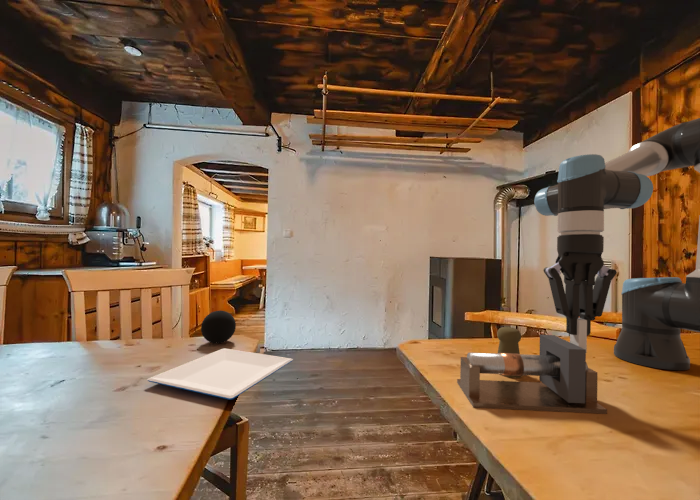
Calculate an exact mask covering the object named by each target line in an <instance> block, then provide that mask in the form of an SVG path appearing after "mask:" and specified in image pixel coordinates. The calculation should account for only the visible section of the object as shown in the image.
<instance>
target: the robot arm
mask: <svg viewBox="0 0 700 500" xmlns="http://www.w3.org/2000/svg"><path fill="white" fill-rule="evenodd" d="M688 167H693V169H694V170H695V171H696V172H697V173H699V174H700V117H698V118H696V119H691V120H688V121H685V122H681V123H679V124H676V125H673V126H671V127H669V128H666V129H664V130H662V131H660V132H659V133H657V134H654V135H652V136H650V137H649V138H646V139H644V140H643V141H640V142H639V143H637V144H634V145H632V147H630V148H629V149H628V151H627V152H625V153H624V154H621V155H619V156H616V157H615V158H613V159H610V160H608V161H607V162H605V158H604V157H603V156H602V155H600V154H596V153H595V154H593V153H592V154H591V153H590V154H579V155H575V156H572V157H568V158H565V159H564V160H562V161H561V162H560V164H559V165H558V175H557V179H556V182H557V184H555V185H548V186H547V187H543V188H541V189H540V190H538V191H537V192H536V194H535V196H534V200H533V201H534V206H535V210H536V211H537V212H538V213H539V214H540V215H542V216H545V217H549V216H550V217H551V216H554V217H556V216H557V232H558V233H559V234H560V235H558V236H557V238H556V242H557V244H556V247H557V248H556V251H557V258H556V259H555V263H554V264H552V265H551V266H549V267H548V266H547V267H544V268H543V273H544V274H545V276H546V277H547V279H548V284H549V287H550V291H551V295H552V299H553V303H554V307H555V312H556V313H557V314H559V315H562V316H564V317H565V318H566V325H565V327H566V332H567V333H566V334H568V335H569V342H570V343H572V344H575V345H577V346H579V347H581V348H583V349H586V354H587V353H588V352H587V349H588V347H587V346H588V345H587V344H588V343H587V342H588V340H587V339H588V338H587V337H588V336H590V335H591V328H592V327H591V325H592V324H591V322H592V321H595V320H596V318H597V317H602V316H603V312H604V309H605V306H606V303H607V298H608V294H609V289H610V286H611V283H612V281H613V279H614V278H615V277H616V275H617V274H618V273H617V270H616V269H614V268H609V267H607V266H606V265H605V261H604V260H603V258H602V254H603V253H604V244H605V243H604V242H605V241H604V239H605V238H604V237H605V236H603V234H601V233H604V231H605V210H608V209H620V210H625V209H636V208H638V207H639V208H640V207H641V206H644V204H646V203H647V202H648V201H649V200H650V198H651V197H652V195H653V191H654V184H653V181H652V180H651V178H650V177H651V176H655V175H656V174H659V173H662V172H665V171H671V170H677V169H684V168H688ZM698 217H699V218H698V219H699V220H698V230H697V231H698V232H697V233H698V234H697V246H696V247H697V248H696V261H695V270H693V271H692V272H690V273H689V274H687V275H686V276H685V282H684V283H683V280H682V279H681V278H680V277H678V276H677V277H673V276H672V277H671V276H667V277H664V276H663V277H637V278H635V277H634V278H627V279H625V280H624V281H623V283H622V291H621V331H620V333H619V335H618V337H617V339H616V342H615V344H614V346H613V355H614V356H615V357H617V358H618V359H621V360H623V361H626V362H629V363H631V364H636V365H640V366H645V367H649V368H655V369H661V370H662V369H663V370H666V371H667V370H668V371H669V370H670V371H686V370H690V368H691V358H690V357H689V355H688V353H687V351H686V348H685V345H684V342H683V340H682V337H681V330H686V331H691V332H697V333H700V216H698ZM561 274H562V275H563V279H562V277H561ZM563 282H564V283H563ZM564 284H565V287H564Z"/></svg>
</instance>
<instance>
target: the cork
mask: <svg viewBox="0 0 700 500" xmlns="http://www.w3.org/2000/svg"><path fill="white" fill-rule="evenodd" d="M496 334H497V339H498V340H499V341H498V342H499V343H498V347H497V354H498V353H517V354H521V352H520V346H519V343H520V341H521V339H522V333H521V332H520V330H519V329H517V328H514V327H509V326H502V327H500V328H498V330H497V332H496ZM498 375H500V376H502V377H505V378H512V379H519V378H522V377H524V375H522V376H511V375H501V374H498Z"/></svg>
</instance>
